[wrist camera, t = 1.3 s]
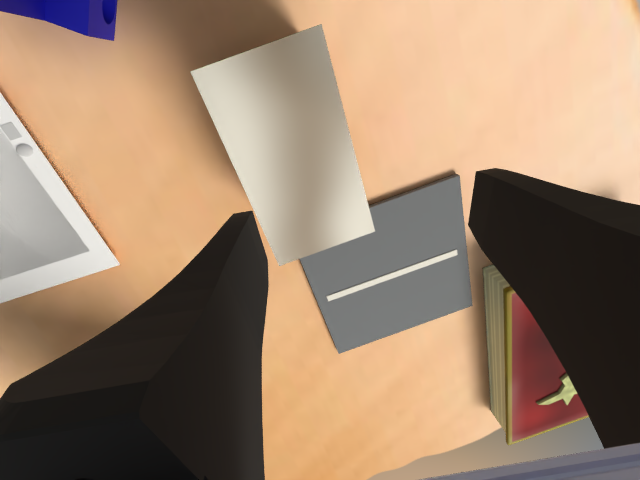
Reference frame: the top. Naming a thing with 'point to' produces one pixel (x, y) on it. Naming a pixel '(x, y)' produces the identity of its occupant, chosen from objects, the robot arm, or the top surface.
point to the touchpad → (40, 219)
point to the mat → (395, 267)
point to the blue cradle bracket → (70, 14)
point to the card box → (289, 143)
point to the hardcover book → (523, 367)
